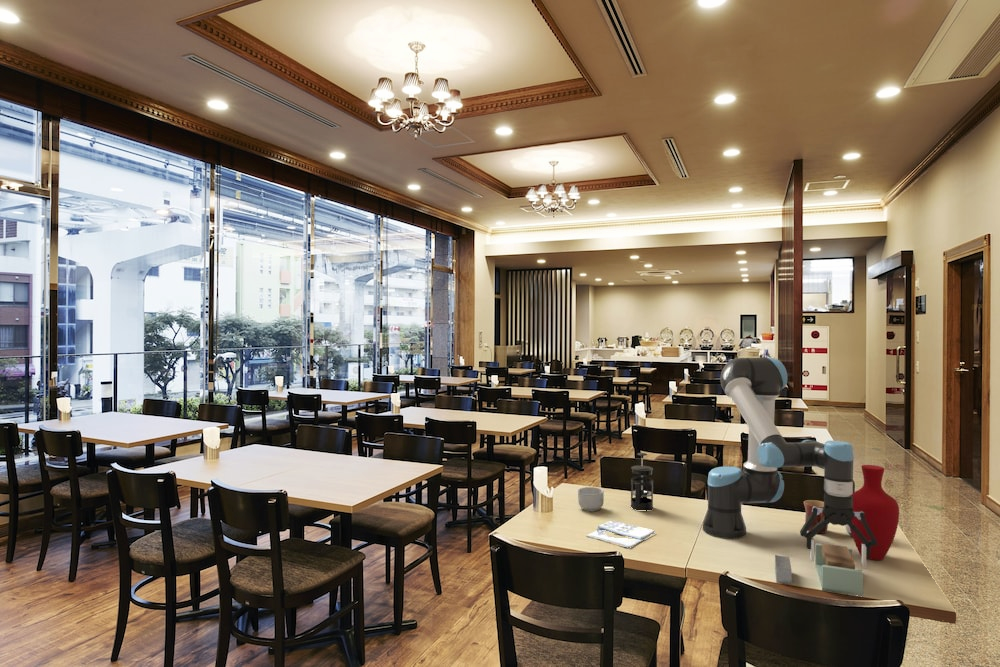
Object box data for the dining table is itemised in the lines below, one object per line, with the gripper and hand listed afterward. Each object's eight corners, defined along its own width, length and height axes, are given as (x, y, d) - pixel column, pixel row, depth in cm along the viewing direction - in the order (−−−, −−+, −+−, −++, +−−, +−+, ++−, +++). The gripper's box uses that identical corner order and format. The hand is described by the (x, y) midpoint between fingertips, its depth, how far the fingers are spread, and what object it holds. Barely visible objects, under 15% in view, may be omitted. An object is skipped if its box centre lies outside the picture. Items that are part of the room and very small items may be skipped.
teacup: (605, 513, 240) (605, 493, 239) (578, 513, 240) (579, 493, 240) (600, 503, 254) (600, 484, 253) (575, 502, 254) (575, 484, 254)
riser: (776, 582, 176) (776, 567, 175) (775, 569, 185) (775, 555, 185) (791, 584, 174) (791, 569, 174) (789, 571, 183) (789, 557, 183)
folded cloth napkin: (656, 535, 216) (656, 529, 216) (628, 551, 201) (628, 544, 201) (611, 523, 229) (611, 518, 229) (582, 537, 214) (582, 531, 214)
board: (827, 571, 172) (827, 560, 171) (821, 552, 185) (821, 543, 185) (855, 575, 169) (855, 564, 169) (847, 556, 183) (847, 546, 183)
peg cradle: (822, 590, 170) (822, 566, 170) (815, 564, 188) (815, 543, 188) (862, 597, 166) (862, 572, 166) (851, 570, 184) (851, 547, 184)
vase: (842, 545, 205) (843, 459, 204) (892, 552, 199) (893, 463, 199) (849, 561, 191) (850, 469, 191) (903, 568, 185) (904, 474, 185)
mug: (800, 526, 225) (800, 499, 225) (825, 527, 223) (825, 500, 223) (810, 537, 213) (810, 509, 213) (836, 539, 211) (836, 510, 211)
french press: (634, 503, 254) (635, 449, 253) (656, 506, 249) (656, 452, 249) (626, 510, 243) (626, 455, 243) (648, 514, 239) (649, 457, 238)
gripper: (792, 491, 178) (792, 561, 179) (889, 501, 168) (889, 575, 169) (791, 485, 185) (790, 552, 185) (884, 494, 175) (883, 565, 176)
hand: (837, 563), depth 177 cm, fingers open, 13 cm apart
